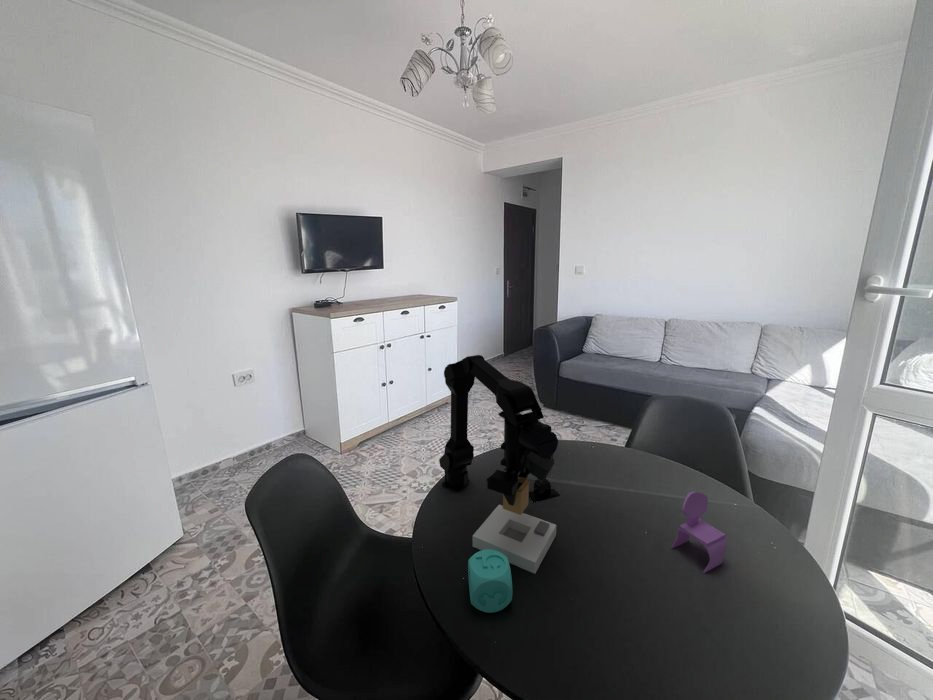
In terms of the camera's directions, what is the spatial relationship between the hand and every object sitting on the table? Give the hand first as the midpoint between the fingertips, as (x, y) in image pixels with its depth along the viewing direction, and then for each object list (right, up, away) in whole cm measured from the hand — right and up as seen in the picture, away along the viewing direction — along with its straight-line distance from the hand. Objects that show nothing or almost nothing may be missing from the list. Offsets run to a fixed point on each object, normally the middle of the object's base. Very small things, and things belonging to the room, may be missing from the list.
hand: (515, 499), depth 90 cm
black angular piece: (+11, -7, +21) cm, 25 cm away
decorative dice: (-7, -15, -12) cm, 21 cm away
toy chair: (+41, -12, -3) cm, 43 cm away
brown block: (0, -2, 0) cm, 2 cm away
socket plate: (0, -11, +3) cm, 12 cm away
